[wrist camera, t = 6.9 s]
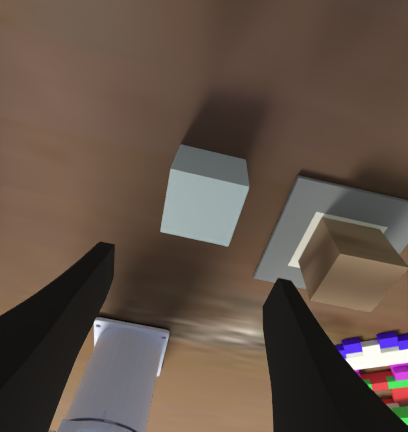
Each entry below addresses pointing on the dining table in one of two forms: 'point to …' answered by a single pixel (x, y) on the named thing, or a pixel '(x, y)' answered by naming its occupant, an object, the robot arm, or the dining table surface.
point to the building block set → (382, 356)
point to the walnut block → (349, 265)
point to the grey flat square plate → (333, 209)
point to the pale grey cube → (204, 195)
